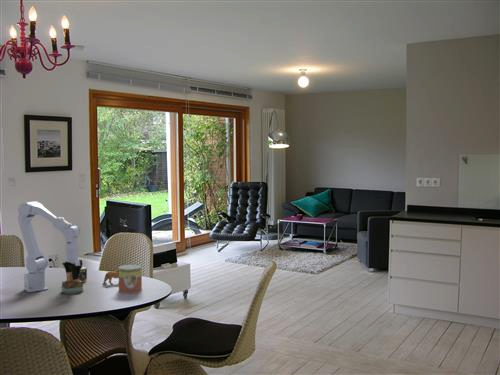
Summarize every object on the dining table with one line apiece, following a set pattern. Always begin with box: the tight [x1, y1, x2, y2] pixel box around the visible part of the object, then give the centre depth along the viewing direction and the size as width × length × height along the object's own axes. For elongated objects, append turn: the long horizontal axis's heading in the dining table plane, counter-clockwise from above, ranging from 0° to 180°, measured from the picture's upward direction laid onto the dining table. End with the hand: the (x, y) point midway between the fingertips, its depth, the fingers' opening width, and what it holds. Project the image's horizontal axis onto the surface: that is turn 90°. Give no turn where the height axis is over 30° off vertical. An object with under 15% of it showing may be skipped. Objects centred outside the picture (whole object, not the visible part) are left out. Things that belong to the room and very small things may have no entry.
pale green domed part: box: [61, 285, 84, 295], centre depth 253 cm, size 10×10×2 cm
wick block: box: [65, 272, 79, 283], centre depth 253 cm, size 5×2×7 cm, turn 130°
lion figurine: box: [102, 269, 119, 286], centre depth 270 cm, size 15×5×9 cm, turn 131°
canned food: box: [118, 264, 143, 295], centre depth 256 cm, size 11×11×12 cm
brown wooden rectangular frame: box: [61, 280, 84, 289], centre depth 253 cm, size 8×6×2 cm
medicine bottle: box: [78, 258, 88, 283], centre depth 274 cm, size 7×7×12 cm
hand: (72, 277), depth 253 cm, fingers open, 7 cm apart
